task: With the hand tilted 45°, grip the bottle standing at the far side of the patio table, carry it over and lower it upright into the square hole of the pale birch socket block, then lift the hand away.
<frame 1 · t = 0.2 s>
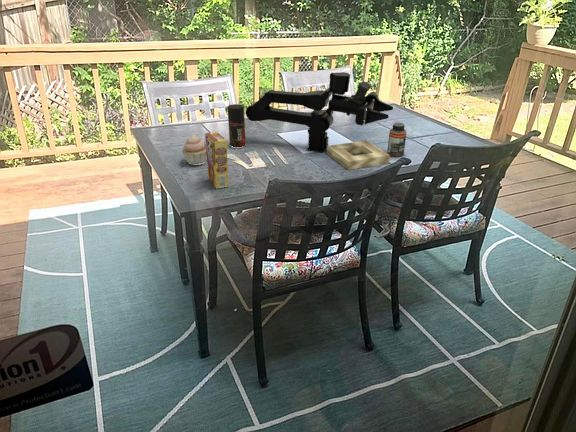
hand: (390, 112, 157), 16 cm above the table, tool horizontal, fingers open, 9 cm apart
candy box: (218, 183, 146), on the table
supplement bottle: (395, 154, 168), on the table
cupcake: (196, 163, 161), on the table
deodorant: (237, 146, 175), on the table
socket block: (357, 158, 165), on the table
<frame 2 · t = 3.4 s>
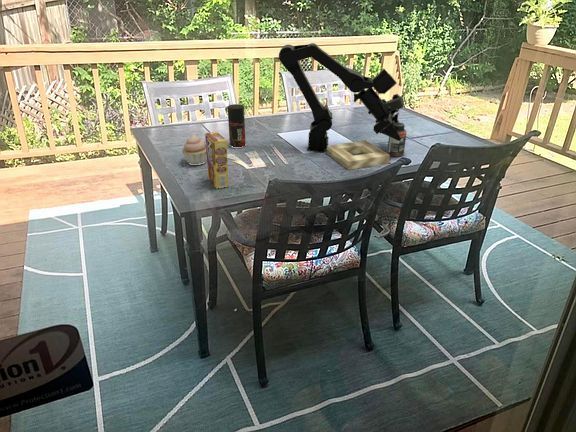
hand: (401, 137, 165), 7 cm above the table, tool tilted 45°, fingers closed on supplement bottle, 6 cm apart
supplement bottle: (395, 154, 168), on the table, touching gripper
everything else where it was.
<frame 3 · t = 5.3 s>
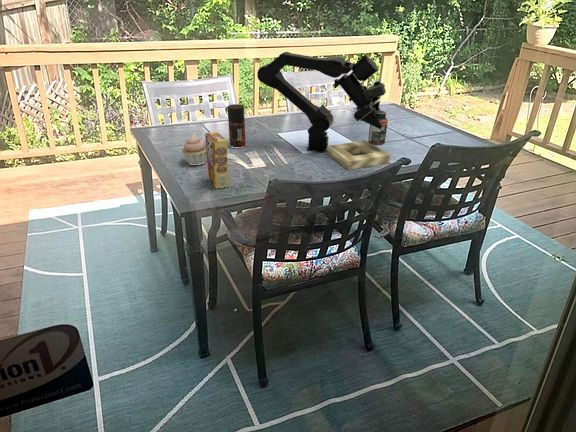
hand: (382, 125, 161), 11 cm above the table, tool tilted 45°, fingers closed on supplement bottle, 6 cm apart
supplement bottle: (376, 143, 164), point 5 cm above the table, touching gripper
everything else where it was.
when the fingers open (8 cm above the table, at t = 7.4 s): supplement bottle drops 1 cm, resting in socket block.
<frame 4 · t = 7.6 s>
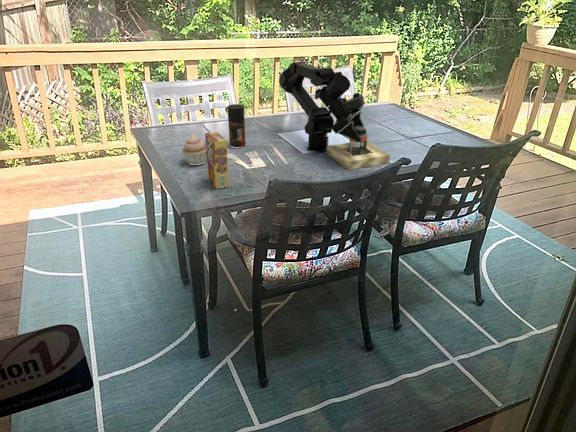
hand: (362, 137, 160), 8 cm above the table, tool tilted 45°, fingers open, 8 cm apart
supplement bottle: (356, 158, 165), resting in socket block
everything else where it was.
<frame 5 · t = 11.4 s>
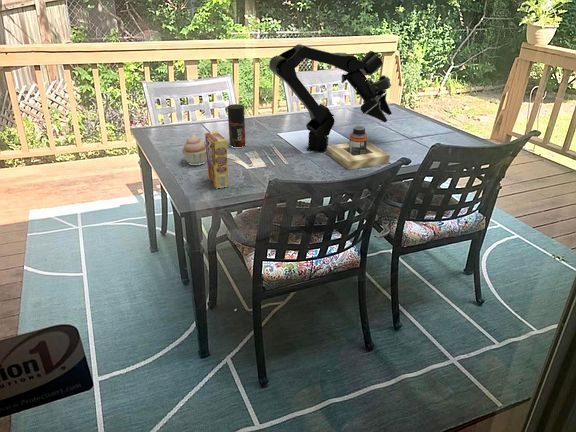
hand: (388, 117, 168), 12 cm above the table, tool tilted 45°, fingers open, 9 cm apart
nothing on the table moved.
at the end: supplement bottle 0.1 cm off-centre on the socket block, point 0.0 cm above the socket block's base; supplement bottle tilted 0°; the gripper is holding nothing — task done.
